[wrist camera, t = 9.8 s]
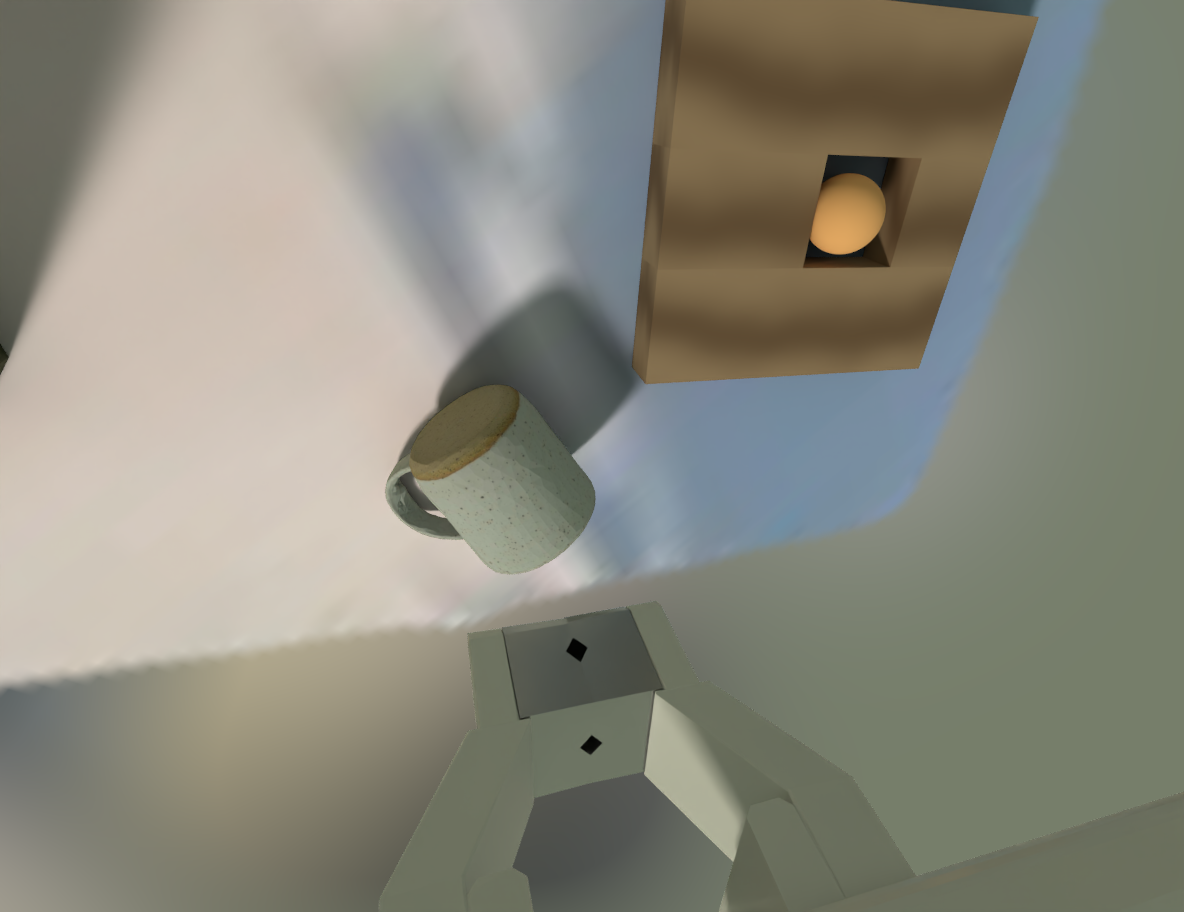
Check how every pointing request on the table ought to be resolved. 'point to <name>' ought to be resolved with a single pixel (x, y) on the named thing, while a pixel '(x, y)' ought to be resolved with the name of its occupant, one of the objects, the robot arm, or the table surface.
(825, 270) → the board
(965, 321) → the table surface
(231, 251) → the table surface
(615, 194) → the table surface
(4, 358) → the wine bottle
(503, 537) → the ceramic mug
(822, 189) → the rubber ball
